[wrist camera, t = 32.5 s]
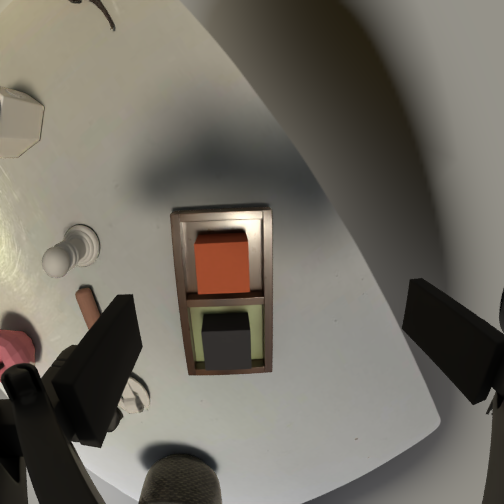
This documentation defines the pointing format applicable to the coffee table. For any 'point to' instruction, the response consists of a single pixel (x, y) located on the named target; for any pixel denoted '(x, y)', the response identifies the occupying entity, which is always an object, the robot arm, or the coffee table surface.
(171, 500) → the planter
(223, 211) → the frame
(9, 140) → the jar
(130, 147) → the coffee table surface
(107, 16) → the dinosaur model
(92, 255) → the chess piece
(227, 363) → the black cube
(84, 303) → the pizza cutter
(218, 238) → the orange block
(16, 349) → the apple
